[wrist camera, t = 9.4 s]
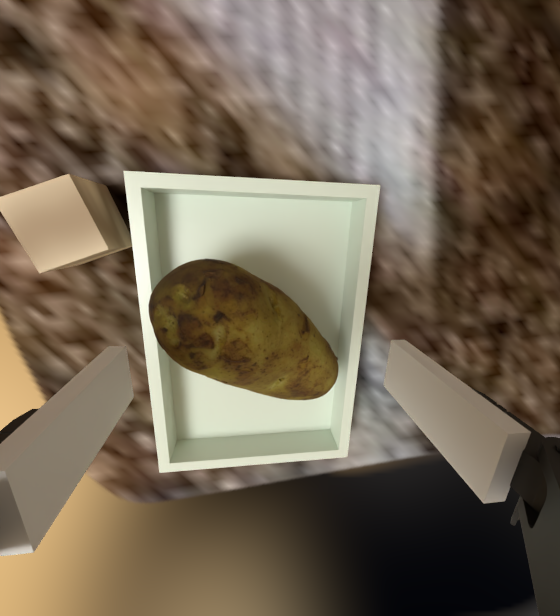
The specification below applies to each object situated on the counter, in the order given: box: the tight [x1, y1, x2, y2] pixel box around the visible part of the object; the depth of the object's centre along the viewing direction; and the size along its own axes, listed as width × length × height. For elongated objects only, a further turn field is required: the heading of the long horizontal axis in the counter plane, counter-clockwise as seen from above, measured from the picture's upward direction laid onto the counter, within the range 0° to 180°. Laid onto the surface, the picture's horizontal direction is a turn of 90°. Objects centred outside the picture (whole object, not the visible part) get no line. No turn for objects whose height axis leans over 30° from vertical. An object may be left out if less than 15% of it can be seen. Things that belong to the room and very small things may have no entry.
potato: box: [148, 258, 338, 400], centre depth 17 cm, size 8×13×8 cm, turn 30°
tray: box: [123, 171, 380, 473], centre depth 20 cm, size 21×15×3 cm
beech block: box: [0, 174, 132, 273], centre depth 16 cm, size 4×4×4 cm
